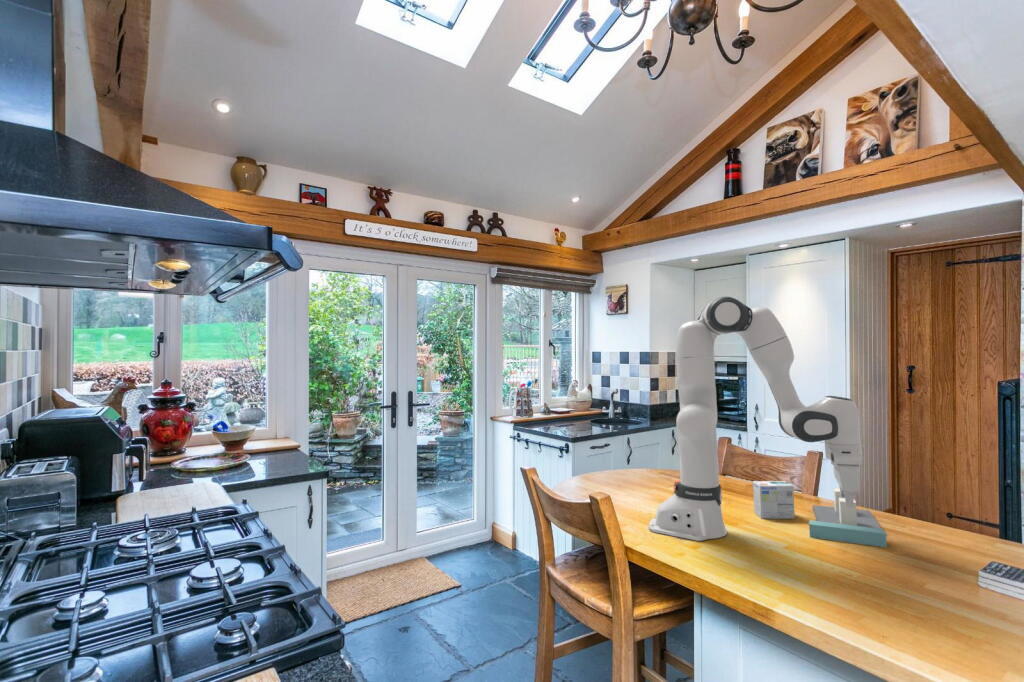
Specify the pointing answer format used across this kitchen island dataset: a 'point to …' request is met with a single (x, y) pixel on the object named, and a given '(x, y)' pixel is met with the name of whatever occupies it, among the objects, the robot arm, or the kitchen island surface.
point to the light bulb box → (773, 499)
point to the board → (834, 516)
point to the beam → (848, 533)
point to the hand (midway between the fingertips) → (847, 501)
